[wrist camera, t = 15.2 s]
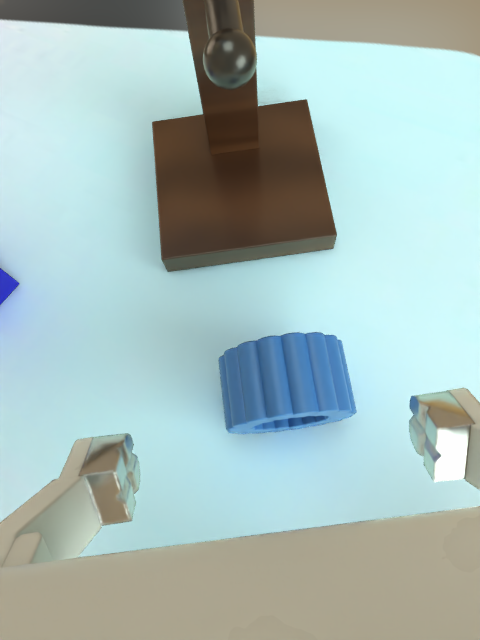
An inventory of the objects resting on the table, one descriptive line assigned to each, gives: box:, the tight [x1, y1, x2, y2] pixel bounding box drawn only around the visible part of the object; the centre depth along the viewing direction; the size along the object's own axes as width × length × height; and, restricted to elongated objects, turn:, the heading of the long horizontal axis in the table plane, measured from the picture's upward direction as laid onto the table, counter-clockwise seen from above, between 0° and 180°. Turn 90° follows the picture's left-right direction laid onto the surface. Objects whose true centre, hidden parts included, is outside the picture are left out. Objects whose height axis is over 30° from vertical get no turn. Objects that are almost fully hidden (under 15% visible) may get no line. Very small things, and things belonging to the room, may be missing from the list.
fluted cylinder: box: [219, 332, 356, 434], centre depth 22 cm, size 3×6×6 cm, turn 97°
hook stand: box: [152, 0, 337, 271], centre depth 21 cm, size 10×10×17 cm
